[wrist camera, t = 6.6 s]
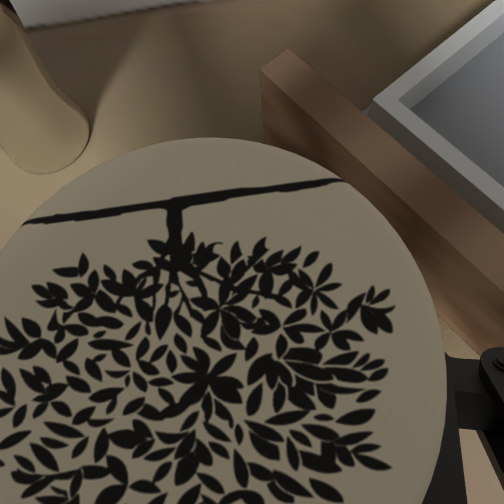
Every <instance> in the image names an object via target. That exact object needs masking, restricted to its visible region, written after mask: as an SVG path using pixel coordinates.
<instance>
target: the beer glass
mask: <svg viewBox="0 0 504 504" xmlns="http://www.w3.org/2000/svg"><path fill="white" fill-rule="evenodd" d="M89 133H90V127H89V122H88V119H87V116H86V115H85V113H84V112H83V110H82V109H81V108H80V107H79V106H78V105H77V104H76V103H74V102H73V101H72V100H71V99H70V98H68V97H67V96H66V95H65V94H64V93H63V92H62V91H61V90H60V89H59V88H58V87H57V86H56V84H55V83H54V82H53V80H52V79H51V78H50V76H49V75H48V73H47V71H46V69H45V67H44V65H43V64H42V62H41V60H40V58H39V56H38V54H37V52H36V50H35V48H34V46H33V44H32V42H31V40H30V38H29V36H28V34H27V32H26V30H25V28H24V26H23V24H22V22H21V20H20V18H19V17H18V15H17V13H16V11H15V10H14V8H13V6H12V4H11V3H10V1H9V0H0V147H1V148H2V150H3V151H4V152H5V153H6V155H7V156H8V157H9V158H10V160H11V161H12V162H13V163H14V164H15V165H16V166H18V167H19V168H21V169H23V170H25V171H27V172H30V173H36V174H45V173H51V172H55V171H58V170H60V169H62V168H64V167H66V166H68V165H69V164H71V163H72V162H73V161H74V160H75V159H77V158H78V156H79V155H80V154H81V153H82V151H83V150H84V148H85V146H86V144H87V142H88V138H89Z"/></svg>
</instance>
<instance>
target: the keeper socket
mask: <svg viewBox="0 0 504 504" xmlns="http://www.w3.org/2000/svg"><path fill="white" fill-rule="evenodd" d="M362 112H363V113H364V114H366V115H367V116H368V117H369V118H370V119H371V120H373V121H374V122H375V123H376V124H377V125H378V126H379V127H381V128H382V129H383V130H384V131H385V132H386V133H388V134H389V135H390V136H391V137H392V138H393V139H394V140H396V141H397V142H398V143H399V144H400V145H401V146H403V147H404V148H405V149H406V150H407V151H408V152H410V153H411V154H412V155H413V156H414V157H415V158H416V159H418V160H419V161H420V162H421V163H422V164H423V165H425V166H426V167H427V168H428V169H429V170H430V171H432V172H433V173H434V174H435V175H436V176H437V177H438V178H440V179H441V180H442V181H443V182H444V183H445V184H447V185H448V186H449V187H450V188H451V189H452V190H454V191H455V192H456V193H457V194H458V195H459V196H460V197H462V198H463V199H464V200H465V201H466V202H467V203H469V204H470V205H471V206H472V207H473V208H474V209H476V210H477V211H478V212H479V213H480V214H481V215H482V216H484V217H485V218H486V219H487V220H488V221H489V222H491V223H492V224H493V225H494V226H495V227H496V228H497V229H499V230H500V231H501V232H502V233H503V234H504V0H495V1H494V2H493V3H491V4H490V5H489V6H488V7H486V8H485V9H484V10H483V11H481V12H480V13H479V14H478V15H476V16H475V17H474V18H473V19H472V20H470V21H469V22H468V23H467V24H465V25H464V26H463V27H462V28H460V29H459V30H458V31H457V32H455V33H454V34H453V35H452V36H450V37H449V38H448V39H447V40H445V41H444V42H443V43H442V44H440V45H439V46H438V47H437V48H435V49H434V50H433V51H432V52H430V53H429V54H428V55H427V56H425V57H424V58H423V59H422V60H420V61H419V62H418V63H417V64H415V65H414V66H413V67H412V68H410V69H409V70H408V71H407V72H405V73H404V74H403V75H402V76H401V77H399V78H398V79H397V80H396V81H394V82H393V83H392V84H391V85H389V86H388V87H387V88H386V89H384V90H383V91H382V92H381V93H379V94H378V95H377V96H376V97H374V98H373V99H372V102H371V105H369V106H368V107H367V108H366V109H365V110H363V111H362Z"/></svg>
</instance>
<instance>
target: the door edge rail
mask: <svg viewBox="0 0 504 504" xmlns="http://www.w3.org/2000/svg"><path fill="white" fill-rule="evenodd" d="M259 72H260V86H261V99H262V113H263V127H264V140H265V144H266V145H270V146H274V147H277V148H280V149H283V150H286V151H289V152H292V153H295V154H297V155H299V156H301V157H304V158H306V159H308V160H310V161H312V162H315V163H316V164H318V165H320V166H322V167H323V168H325V169H327V170H329V171H331V172H332V173H334V174H335V175H337V176H338V177H340V178H341V179H342V180H344V181H345V182H347V183H348V184H350V185H351V186H352V187H353V188H355V189H356V190H357V191H358V192H359V193H360V194H362V195H363V196H364V197H365V198H366V199H367V200H368V201H369V202H370V203H371V204H372V205H373V206H374V207H375V208H376V209H377V210H378V211H379V212H380V213H381V214H382V215H383V216H384V217H385V218H386V220H387V221H388V222H389V223H390V225H391V226H392V227H393V228H394V230H395V231H396V232H397V233H398V235H399V236H400V238H401V239H402V241H403V242H404V244H405V245H406V247H407V248H408V250H409V251H410V253H411V255H412V257H413V258H414V260H415V262H416V264H417V266H418V268H419V270H420V271H421V273H422V276H423V278H424V281H425V283H426V285H427V288H428V290H429V292H430V295H431V298H432V301H433V304H434V307H435V310H436V313H437V314H438V315H439V316H440V317H441V318H442V319H443V320H444V321H445V322H446V323H447V324H448V325H449V326H450V327H451V328H452V329H453V330H454V331H455V332H456V333H457V334H458V335H459V336H460V337H461V338H462V339H463V340H464V341H465V342H466V343H467V344H468V345H469V346H470V347H471V348H472V349H473V350H474V351H475V352H476V353H477V354H478V355H479V356H480V357H481V355H482V352H484V351H485V350H487V349H489V348H493V347H504V234H503V233H502V232H501V231H500V230H499V229H497V228H496V227H495V226H494V225H493V224H492V223H491V222H489V221H488V220H487V219H486V218H485V217H484V216H482V215H481V214H480V213H479V212H478V211H477V210H476V209H474V208H473V207H472V206H471V205H470V204H469V203H467V202H466V201H465V200H464V199H463V198H462V197H460V196H459V195H458V194H457V193H456V192H455V191H454V190H452V189H451V188H450V187H449V186H448V185H447V184H445V183H444V182H443V181H442V180H441V179H440V178H438V177H437V176H436V175H435V174H434V173H433V172H432V171H430V170H429V169H428V168H427V167H426V166H425V165H423V164H422V163H421V162H420V161H419V160H418V159H416V158H415V157H414V156H413V155H412V154H411V153H410V152H408V151H407V150H406V149H405V148H404V147H403V146H401V145H400V144H399V143H398V142H397V141H396V140H394V139H393V138H392V137H391V136H390V135H389V134H388V133H386V132H385V131H384V130H383V129H382V128H381V127H379V126H378V125H377V124H376V123H375V122H374V121H373V120H371V119H370V118H369V117H368V116H367V115H366V114H364V113H363V112H362V111H361V110H360V109H359V108H357V107H356V106H355V105H354V104H353V103H352V102H351V101H349V100H348V99H347V98H346V97H345V96H344V95H342V94H341V93H340V92H339V91H338V90H337V89H335V88H334V87H333V86H332V85H331V84H330V83H329V82H327V81H326V80H325V79H324V78H323V77H322V76H320V75H319V74H318V73H317V72H316V71H315V70H313V69H312V68H311V67H310V66H309V65H308V64H307V63H305V62H304V61H303V60H302V59H301V58H300V57H298V56H297V55H296V54H295V53H294V52H293V51H292V50H290V49H289V48H287V49H286V50H284V51H283V52H282V53H280V54H279V55H278V56H276V57H275V58H274V59H272V60H271V61H270V62H268V63H267V64H266V65H264V66H263V67H262V68H260V69H259Z"/></svg>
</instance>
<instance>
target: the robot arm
mask: <svg viewBox="0 0 504 504" xmlns="http://www.w3.org/2000/svg"><path fill="white" fill-rule="evenodd" d="M444 353H445V352H444ZM445 362H446V373H447V401H446V413H445V425H444V430H443V436H442V441H441V446H440V452H439V455H438V459H437V462H436V466H435V469H434V473H433V476H432V479H431V482H430V484H429V487H428V489H427V492H426V494H425V497H424V499H423V502H422V504H467V496H466V487H465V479H464V471H463V462H462V454H461V446H460V437H459V429H458V428H461V429H470V430H476V432H477V434H478V436H479V438H480V440H481V442H482V445H483V447H484V449H485V451H486V453H487V455H488V457H489V460H490V462H491V464H492V466H493V468H494V470H495V473H496V475H497V477H498V479H499V481H500V483H501V485H502V488H503V490H504V347H493V348H489V349H487V350H485V351H484V352H482V355H481V357H480V360H476V359H460V358H453V357H449V356H448V355H447V354H446V353H445Z"/></svg>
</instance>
